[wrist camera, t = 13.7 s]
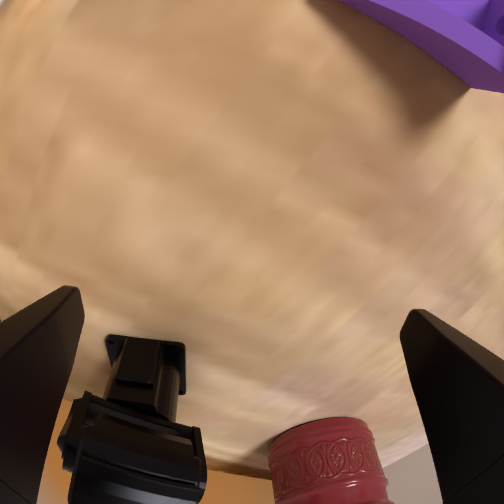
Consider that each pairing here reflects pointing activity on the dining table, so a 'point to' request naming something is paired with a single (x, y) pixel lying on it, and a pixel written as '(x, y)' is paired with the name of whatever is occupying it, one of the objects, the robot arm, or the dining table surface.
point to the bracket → (450, 34)
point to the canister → (327, 464)
